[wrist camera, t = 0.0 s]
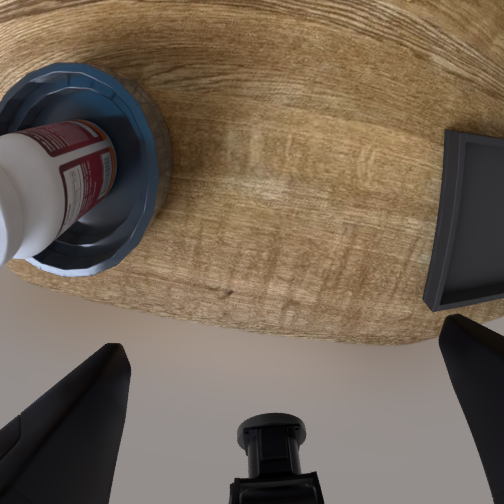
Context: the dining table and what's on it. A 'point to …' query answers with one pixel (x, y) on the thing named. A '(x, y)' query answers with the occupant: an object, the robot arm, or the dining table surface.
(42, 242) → the pill bottle
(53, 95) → the bowl
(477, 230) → the tray
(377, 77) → the dining table surface
